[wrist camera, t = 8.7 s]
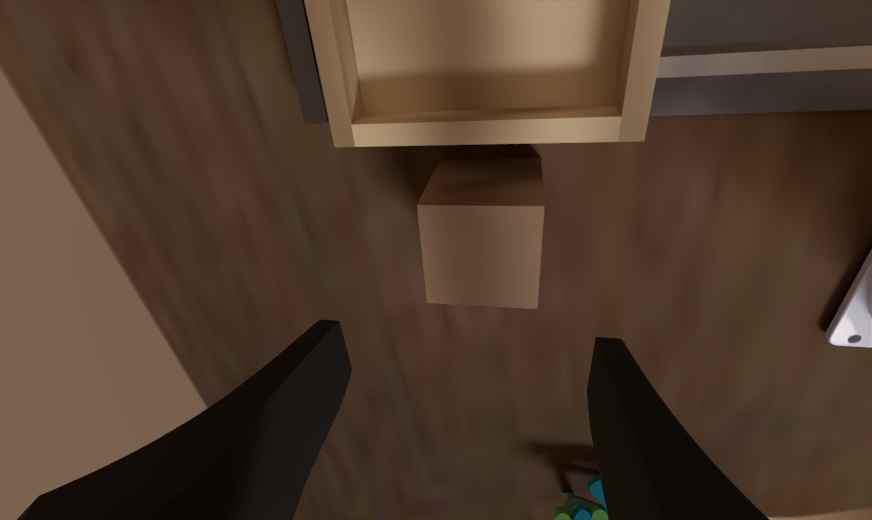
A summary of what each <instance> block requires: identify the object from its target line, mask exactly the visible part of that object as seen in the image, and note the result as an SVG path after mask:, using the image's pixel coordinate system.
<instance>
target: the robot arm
mask: <svg viewBox="0 0 872 520" xmlns="http://www.w3.org/2000/svg"><path fill="white" fill-rule="evenodd" d="M852 335H854V336H852ZM850 336H852V337H850ZM825 337H826V339H827V340H828V341H829V342H830V343H831V344H833V345H840V346H856V347H872V249H871V251H870V253H869V254H868V256H867V258H866V260H865V262H864V264H863V265H862V267H861V269H860V271H859V273H858V274H857V276H856V278H855V280H854V282H853V284H852V285H851V287H850V289H849V291H848V293H847V294H846V296H845V298H844V300H843V302H842V304H841V305H840V307H839V309H838V311H837V313H836V315H835V316H834V318H833V320H832V322H831V324H830V325H829V327H828V329H827V331H826V333H825ZM351 372H352V368H351V364H350V360H349V356H348V353H347V349H346V345H345V341H344V337H343V333H342V329H341V326H340V322H339V321H333V320H319V321H318V322H317V323H315V324H314V325H313V326H312V327H311V328H309V329H308V330H307V331H306V332H305V333H304V334H302V335H301V336H300V337H299V338H298V339H297V340H295V341H294V342H293V343H292V344H291V345H290V346H288V347H287V348H286V349H285V350H284V351H282V352H281V353H280V354H279V355H278V356H277V357H275V358H274V359H273V360H272V361H271V362H269V363H268V364H267V365H266V366H265V367H263V368H262V369H261V370H259V371H258V372H257V373H256V374H254V375H253V376H252V377H250V378H249V379H248V380H246V381H245V382H244V383H243V384H241V385H240V386H239V387H237V388H236V389H235V390H233V391H232V392H231V393H229V394H228V395H227V396H225V397H224V398H222V399H221V400H220V401H218V402H217V403H215V404H214V405H212V406H211V407H209V408H208V409H206V410H205V411H203V412H202V413H200V414H199V415H197V416H196V417H194V418H192V419H191V420H189V421H188V422H186V423H184V424H182V425H181V426H179V427H177V428H176V429H174V430H172V431H171V432H169V433H167V434H165V435H164V436H162V437H160V438H159V439H157V440H155V441H154V442H152V443H150V444H148V445H146V446H144V447H142V448H140V449H139V450H137V451H135V452H133V453H131V454H129V455H127V456H125V457H123V458H121V459H119V460H117V461H115V462H113V463H111V464H109V465H107V466H105V467H103V468H101V469H99V470H97V471H95V472H92V473H90V474H88V475H86V476H83V477H81V478H79V479H77V480H74V481H72V482H70V483H68V484H65V485H63V486H61V487H59V488H57V489H54V490H52V491H50V492H47V493H45V494H42V495H40V496H39V497H38V498H37V499H36V500H35V501H34V502H33V503H32V504H31V505H30V506H29V507H28V508H27V509H26V510H25V511H24V513H23V514H22V515H21V516H20V517H19V518H18V519H17V520H292V519H293V517H294V514H295V511H296V508H297V505H298V502H299V499H300V497H301V494H302V491H303V488H304V486H305V483H306V481H307V478H308V476H309V473H310V471H311V469H312V467H313V465H314V462H315V460H316V458H317V456H318V454H319V452H320V449H321V447H322V445H323V443H324V441H325V439H326V436H327V434H328V432H329V430H330V428H331V426H332V423H333V421H334V419H335V417H336V415H337V412H338V410H339V408H340V406H341V403H342V401H343V398H344V395H345V391H346V388H347V385H348V382H349V378H350V375H351ZM587 396H588V409H589V420H590V429H591V434H592V439H593V444H594V449H595V454H596V459H597V464H598V469H599V474H600V479H601V484H602V489H603V494H604V499H605V504H606V509H607V514H608V520H769V519H768V518H767V517H766V516H765V515H764V514H763V513H762V512H761V511H760V510H758V509H757V508H756V507H755V506H754V505H753V504H752V503H751V502H750V501H749V500H748V499H747V498H746V497H745V495H744V494H743V493H742V492H741V491H740V490H739V489H738V488H737V487H736V486H735V485H734V484H733V483H732V482H731V481H730V480H729V479H728V478H727V477H726V476H725V475H724V474H723V473H722V471H721V470H720V469H719V468H718V467H717V466H716V465H715V464H714V463H713V462H712V461H711V459H710V458H709V457H708V456H707V455H706V454H705V453H704V451H703V450H702V449H701V448H700V447H699V446H698V444H697V443H696V442H695V441H694V440H693V438H692V437H691V436H690V435H689V434H688V432H687V431H686V430H685V429H684V427H683V426H682V425H681V424H680V422H679V421H678V420H677V419H676V417H675V416H674V415H673V414H672V412H671V411H670V409H669V408H668V407H667V405H666V404H665V403H664V401H663V400H662V399H661V397H660V396H659V395H658V393H657V392H656V391H655V389H654V388H653V386H652V385H651V383H650V382H649V381H648V379H647V378H646V376H645V375H644V373H643V372H642V370H641V369H640V367H639V366H638V364H637V362H636V361H635V359H634V358H633V356H632V355H631V353H630V351H629V350H628V348H627V346H626V345H625V343H624V342H623V341H622V340H621V339H617V338H601V337H596V339H595V345H594V351H593V357H592V363H591V369H590V375H589V381H588V387H587Z"/></svg>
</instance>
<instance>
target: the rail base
mask: <svg viewBox="0 0 872 520" xmlns="http://www.w3.org/2000/svg"><path fill="white" fill-rule="evenodd" d="M276 3H277V8H278V12H279V16H280V20H281V24H282V29H283V33H284V37H285V41H286V45H287V50H288V54H289V58H290V62H291V66H292V71H293V75H294V79H295V83H296V87H297V91H298V96H299V100H300V104H301V108H302V112H303V117H304V121H305V123H321V126H330V122H329V118H328V113H327V108H326V103H325V98H324V94H323V89H322V84H321V79H320V74H319V70H318V65H317V60H316V55H315V50H314V45H313V41H312V36H311V31H310V26H309V21H308V17H307V12H306V7H305V2H304V0H276ZM843 110H872V0H671V1H670V6H669V12H668V17H667V22H666V28H665V33H664V39H663V44H662V49H661V55H660V60H659V65H658V71H657V76H656V82H655V87H654V92H653V98H652V103H651V108H650V114H649V116H676V115H710V114H743V113H777V112H810V111H843Z"/></svg>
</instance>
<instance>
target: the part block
mask: <svg viewBox="0 0 872 520" xmlns="http://www.w3.org/2000/svg"><path fill="white" fill-rule="evenodd" d="M417 211H418V221H419V230H420V240H421V249H422V258H423V268H424V277H425V287H426V296H427V303H440V304H458V305H476V306H494V307H511V308H529V309H537V307H538V292H539V278H540V264H541V249H542V235H543V221H544V193H543V179H542V165H541V158H440V160H439V162H438V164H437V166H436V168H435V170H434V172H433V174H432V176H431V178H430V180H429V182H428V184H427V186H426V188H425V190H424V192H423V194H422V196H421V198H420V200H419V202H418V204H417Z"/></svg>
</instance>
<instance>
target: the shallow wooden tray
mask: <svg viewBox="0 0 872 520" xmlns="http://www.w3.org/2000/svg"><path fill="white" fill-rule="evenodd" d="M670 1H671V0H304V2H305V7H306V12H307V17H308V21H309V26H310V31H311V36H312V41H313V45H314V50H315V55H316V60H317V65H318V70H319V74H320V79H321V84H322V89H323V94H324V98H325V103H326V108H327V113H328V118H329V122H330V127H331V132H332V137H333V142H334V146H335V147H374V146H426V145H477V144H528V143H580V142H631V141H645V135H646V130H647V125H648V119H649V114H650V108H651V103H652V98H653V92H654V87H655V82H656V76H657V71H658V65H659V60H660V55H661V49H662V44H663V39H664V33H665V28H666V22H667V17H668V12H669V6H670Z"/></svg>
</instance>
